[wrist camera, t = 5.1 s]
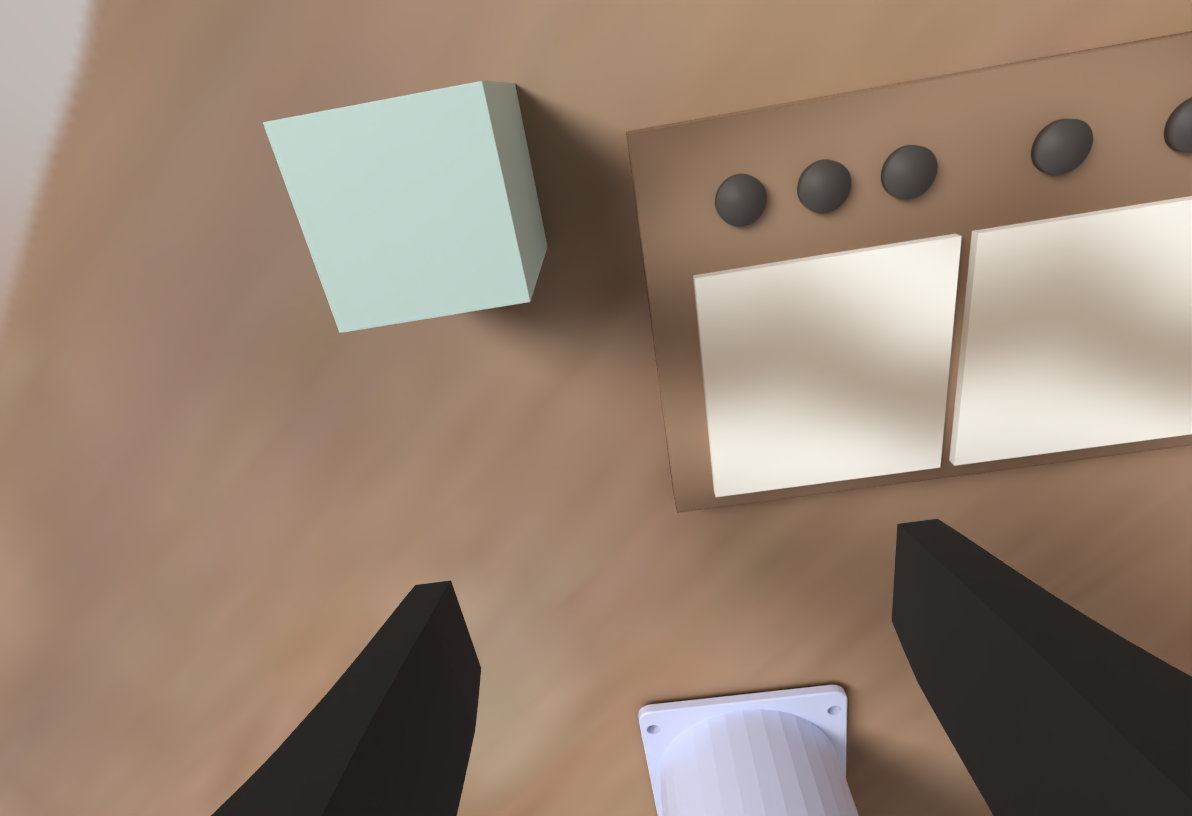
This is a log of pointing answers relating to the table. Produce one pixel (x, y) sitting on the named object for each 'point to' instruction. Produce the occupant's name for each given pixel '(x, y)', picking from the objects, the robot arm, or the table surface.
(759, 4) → the table surface
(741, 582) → the table surface
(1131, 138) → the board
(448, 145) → the sage block
